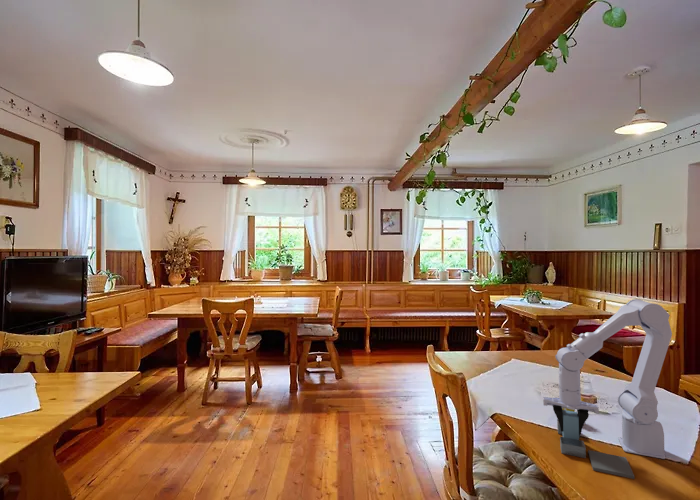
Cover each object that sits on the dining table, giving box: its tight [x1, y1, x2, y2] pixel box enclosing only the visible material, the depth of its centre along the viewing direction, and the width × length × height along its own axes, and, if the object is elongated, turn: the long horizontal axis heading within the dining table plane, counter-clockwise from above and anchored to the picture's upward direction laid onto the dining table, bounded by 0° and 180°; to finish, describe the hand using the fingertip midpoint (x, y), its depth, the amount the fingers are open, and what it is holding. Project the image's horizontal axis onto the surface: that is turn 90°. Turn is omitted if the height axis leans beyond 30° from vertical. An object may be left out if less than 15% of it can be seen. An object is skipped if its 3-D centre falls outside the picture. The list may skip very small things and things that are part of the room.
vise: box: [556, 419, 587, 459], centre depth 112 cm, size 6×19×3 cm, turn 154°
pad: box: [587, 449, 635, 480], centre depth 99 cm, size 9×9×1 cm
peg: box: [562, 410, 580, 440], centre depth 111 cm, size 4×4×8 cm
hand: (570, 431), depth 111 cm, fingers closed on peg, 4 cm apart
